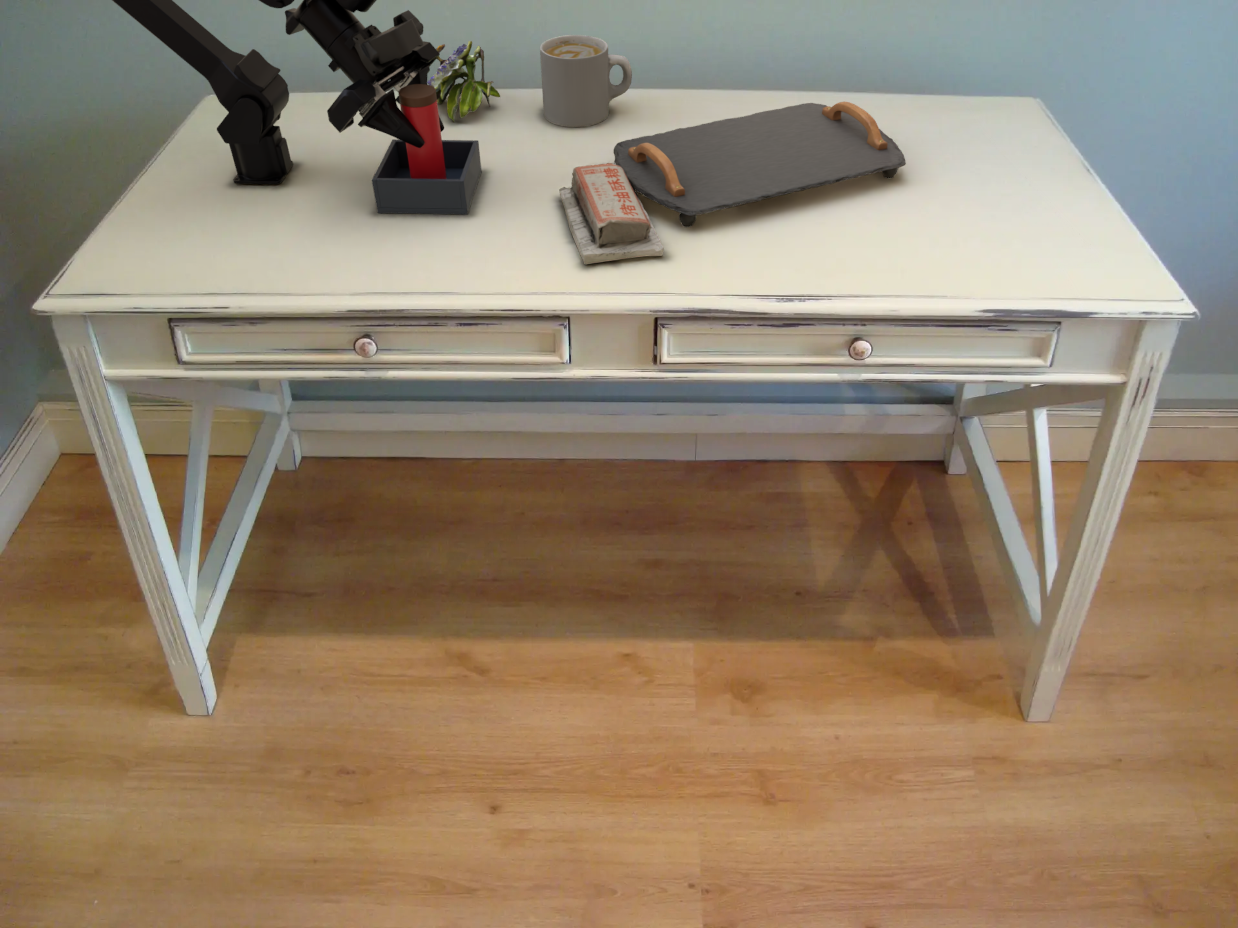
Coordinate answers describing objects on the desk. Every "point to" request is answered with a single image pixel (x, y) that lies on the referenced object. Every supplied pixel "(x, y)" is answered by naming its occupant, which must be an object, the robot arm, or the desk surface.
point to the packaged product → (607, 216)
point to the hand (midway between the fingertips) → (432, 138)
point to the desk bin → (428, 181)
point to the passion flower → (468, 88)
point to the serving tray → (756, 157)
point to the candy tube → (423, 131)
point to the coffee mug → (579, 80)
